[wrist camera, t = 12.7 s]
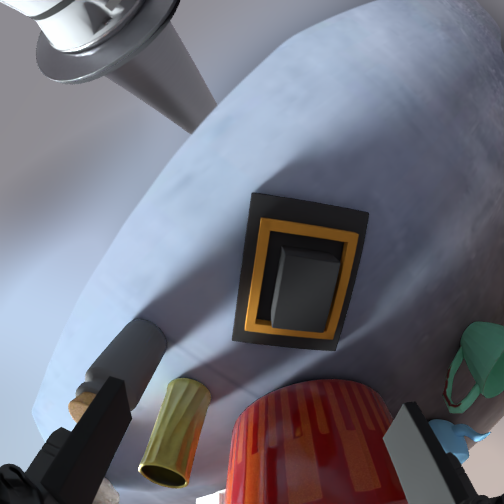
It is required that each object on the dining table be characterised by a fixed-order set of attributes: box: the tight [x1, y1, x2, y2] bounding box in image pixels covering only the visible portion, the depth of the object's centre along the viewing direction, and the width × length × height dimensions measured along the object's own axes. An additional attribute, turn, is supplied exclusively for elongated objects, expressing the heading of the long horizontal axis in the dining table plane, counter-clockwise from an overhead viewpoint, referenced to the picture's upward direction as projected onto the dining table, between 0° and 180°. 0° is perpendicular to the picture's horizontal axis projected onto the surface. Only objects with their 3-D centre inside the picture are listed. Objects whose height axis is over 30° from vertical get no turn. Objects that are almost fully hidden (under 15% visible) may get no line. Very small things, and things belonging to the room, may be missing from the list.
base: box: [232, 193, 369, 351], centre depth 28 cm, size 16×12×2 cm
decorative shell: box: [92, 477, 119, 504], centre depth 38 cm, size 18×18×10 cm
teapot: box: [428, 419, 491, 464], centre depth 30 cm, size 12×18×12 cm
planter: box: [224, 379, 408, 504], centre depth 25 cm, size 23×23×20 cm
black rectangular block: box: [270, 245, 341, 333], centre depth 26 cm, size 7×5×4 cm
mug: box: [442, 321, 504, 413], centre depth 26 cm, size 15×10×10 cm
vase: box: [139, 378, 211, 488], centre depth 27 cm, size 6×6×14 cm
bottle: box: [68, 319, 167, 423], centre depth 24 cm, size 6×6×15 cm
